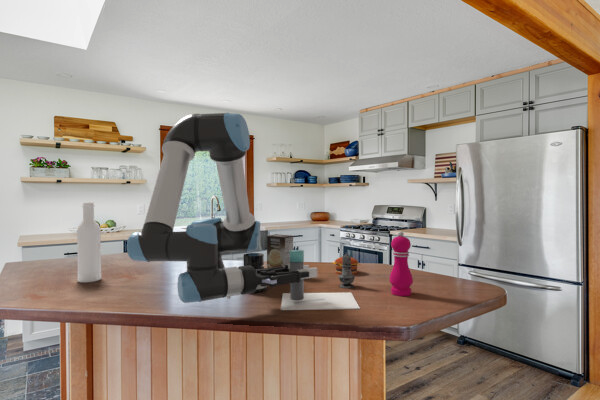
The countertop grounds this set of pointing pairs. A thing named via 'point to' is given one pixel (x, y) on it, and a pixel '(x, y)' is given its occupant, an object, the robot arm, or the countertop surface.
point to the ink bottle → (255, 265)
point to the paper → (320, 301)
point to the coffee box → (279, 250)
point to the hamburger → (340, 262)
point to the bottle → (88, 246)
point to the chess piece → (346, 273)
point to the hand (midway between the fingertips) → (312, 270)
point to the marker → (295, 265)
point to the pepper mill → (401, 266)
